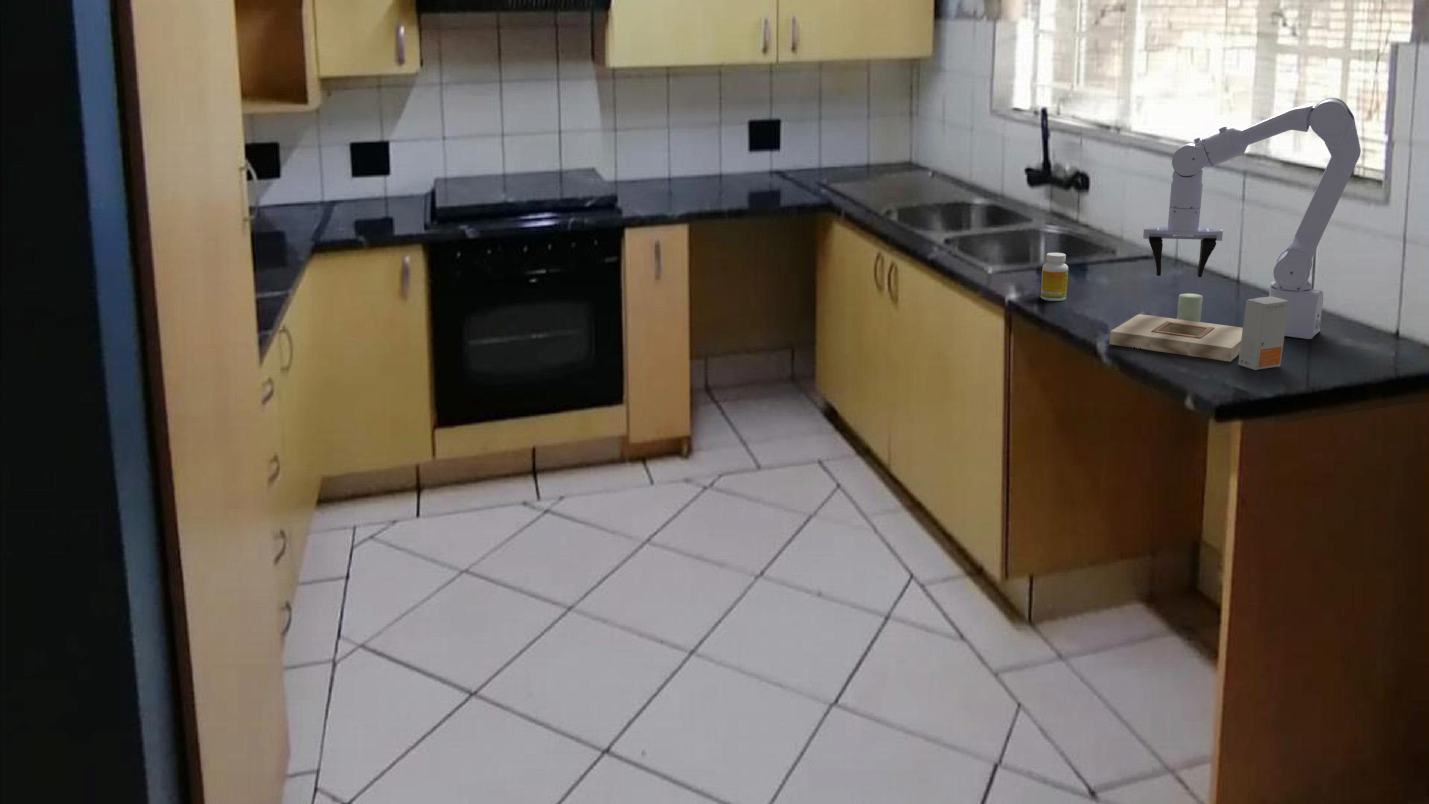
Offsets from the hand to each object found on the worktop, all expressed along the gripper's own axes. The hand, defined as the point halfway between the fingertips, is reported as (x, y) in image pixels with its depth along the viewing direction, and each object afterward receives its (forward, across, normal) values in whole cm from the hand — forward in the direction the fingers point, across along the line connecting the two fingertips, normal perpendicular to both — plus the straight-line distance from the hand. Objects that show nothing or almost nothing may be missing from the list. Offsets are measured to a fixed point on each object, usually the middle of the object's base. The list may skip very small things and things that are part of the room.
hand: (1178, 275), depth 257 cm
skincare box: (+10, -12, +30) cm, 34 cm away
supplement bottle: (+9, +24, -16) cm, 30 cm away
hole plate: (+10, 0, +17) cm, 19 cm away
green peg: (+10, -2, +2) cm, 10 cm away
